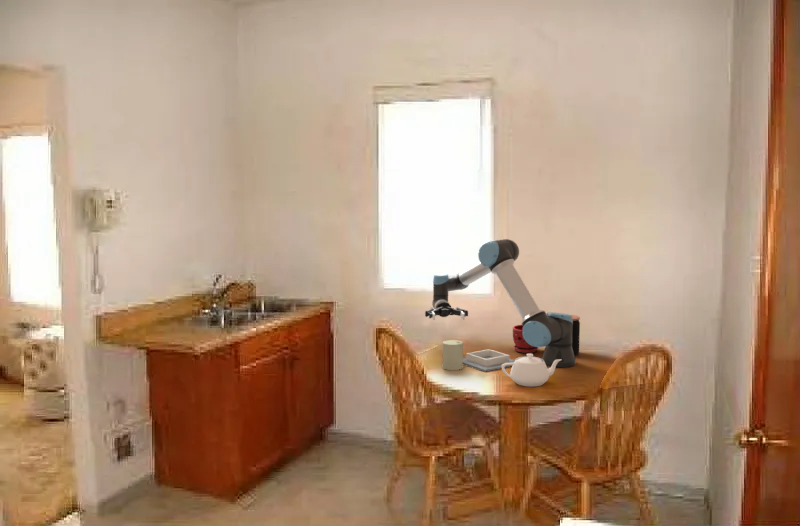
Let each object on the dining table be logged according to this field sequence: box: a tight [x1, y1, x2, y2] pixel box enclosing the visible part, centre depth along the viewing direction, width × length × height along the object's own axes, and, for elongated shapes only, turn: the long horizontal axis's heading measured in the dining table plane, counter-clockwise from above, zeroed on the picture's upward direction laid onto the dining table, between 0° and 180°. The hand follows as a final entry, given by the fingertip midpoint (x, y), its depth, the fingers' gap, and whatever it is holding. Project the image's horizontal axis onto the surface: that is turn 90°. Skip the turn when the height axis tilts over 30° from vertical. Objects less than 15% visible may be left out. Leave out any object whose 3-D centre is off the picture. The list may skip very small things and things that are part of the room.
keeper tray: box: [463, 348, 516, 373], centre depth 301 cm, size 22×22×4 cm
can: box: [441, 339, 464, 371], centre depth 293 cm, size 9×9×12 cm
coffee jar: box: [570, 314, 581, 356], centre depth 316 cm, size 11×11×18 cm
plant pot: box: [512, 324, 539, 354], centre depth 322 cm, size 13×13×12 cm
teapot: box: [501, 353, 562, 387], centre depth 269 cm, size 25×16×12 cm, turn 93°
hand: (448, 316), depth 302 cm, fingers open, 13 cm apart
